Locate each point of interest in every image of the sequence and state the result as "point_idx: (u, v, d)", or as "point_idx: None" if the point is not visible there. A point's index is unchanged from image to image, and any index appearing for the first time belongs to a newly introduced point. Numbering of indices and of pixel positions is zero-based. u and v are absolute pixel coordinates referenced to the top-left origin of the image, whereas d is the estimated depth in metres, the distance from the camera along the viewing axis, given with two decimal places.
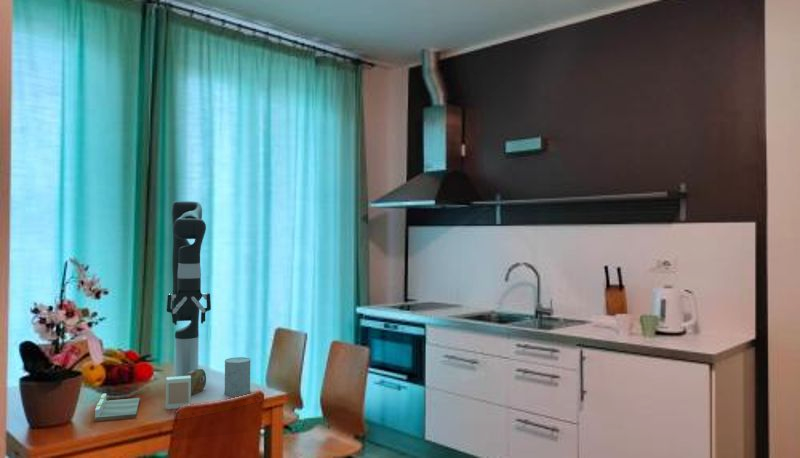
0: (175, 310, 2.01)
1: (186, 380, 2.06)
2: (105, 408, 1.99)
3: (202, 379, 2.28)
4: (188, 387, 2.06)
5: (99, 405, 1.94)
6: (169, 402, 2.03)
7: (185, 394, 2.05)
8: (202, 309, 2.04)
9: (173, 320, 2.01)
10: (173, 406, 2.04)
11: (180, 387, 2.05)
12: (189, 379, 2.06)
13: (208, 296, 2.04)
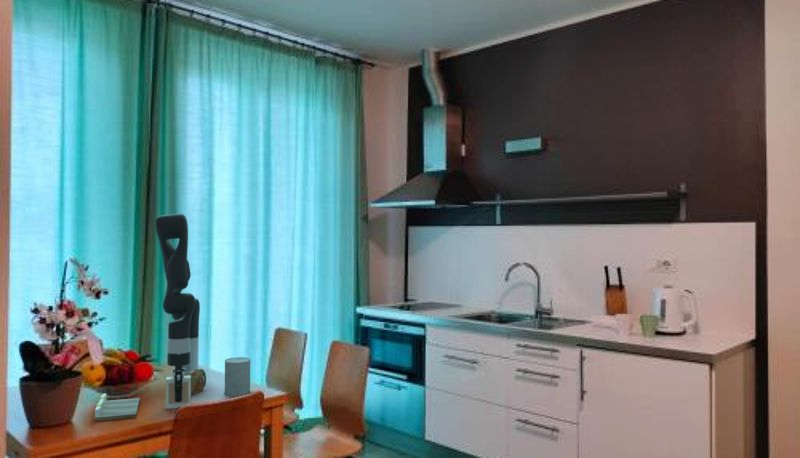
0: None
1: (186, 380, 2.06)
2: (105, 408, 1.99)
3: (202, 379, 2.28)
4: (188, 387, 2.06)
5: (99, 405, 1.94)
6: (169, 402, 2.04)
7: (185, 394, 2.05)
8: None
9: (180, 397, 2.04)
10: (173, 405, 2.04)
11: None
12: (189, 379, 2.06)
13: (182, 369, 2.13)
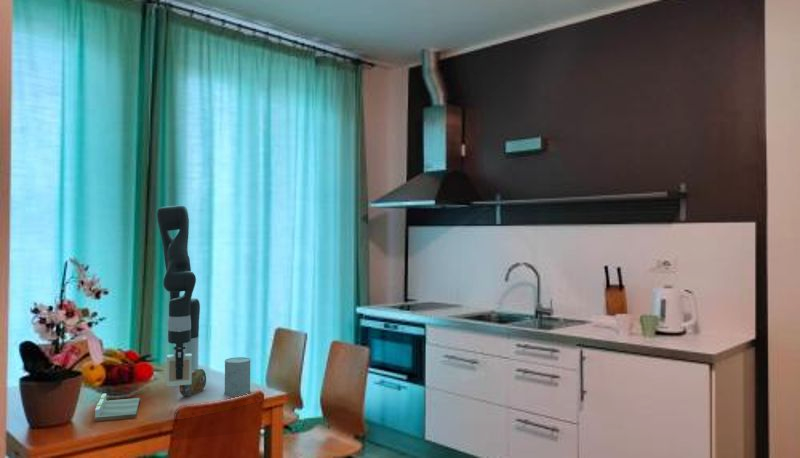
0: None
1: (187, 358, 2.06)
2: (105, 408, 1.99)
3: (202, 379, 2.28)
4: (189, 364, 2.06)
5: (99, 405, 1.94)
6: (170, 379, 2.04)
7: (186, 371, 2.06)
8: None
9: (181, 375, 2.04)
10: (174, 383, 2.05)
11: None
12: (190, 357, 2.06)
13: None
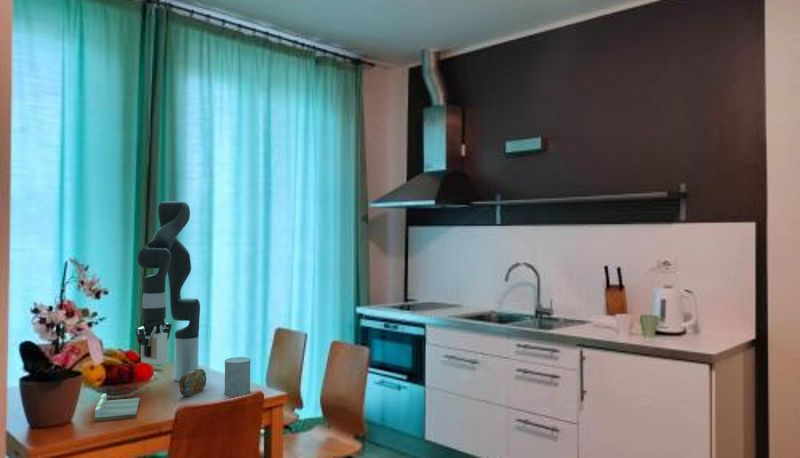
0: (150, 342, 2.01)
1: (155, 336, 2.01)
2: (105, 408, 1.99)
3: (202, 379, 2.28)
4: (155, 343, 2.01)
5: (99, 405, 1.94)
6: (142, 356, 2.03)
7: (153, 350, 2.01)
8: None
9: (147, 353, 2.01)
10: (146, 360, 2.03)
11: None
12: (157, 336, 2.01)
13: (170, 326, 2.09)
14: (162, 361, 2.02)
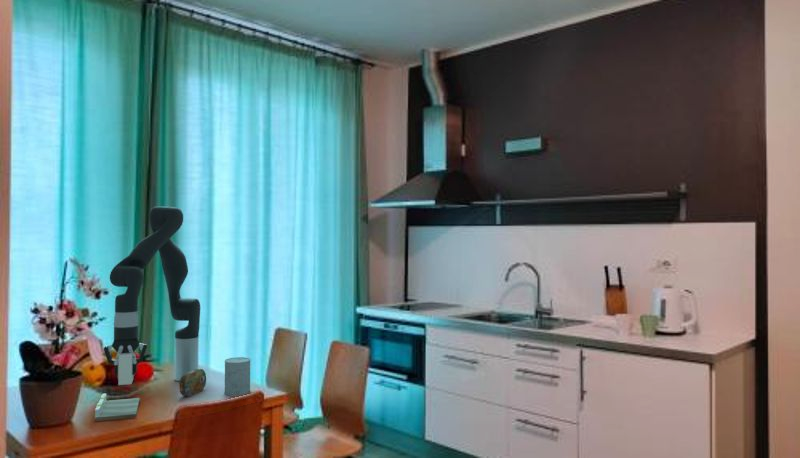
0: (116, 361, 2.00)
1: (119, 356, 1.99)
2: (105, 408, 1.99)
3: (202, 379, 2.28)
4: (118, 363, 1.98)
5: (99, 405, 1.94)
6: None
7: (118, 370, 1.99)
8: (133, 361, 2.01)
9: (115, 371, 2.00)
10: None
11: None
12: None
13: (144, 347, 2.03)
14: (124, 382, 1.98)
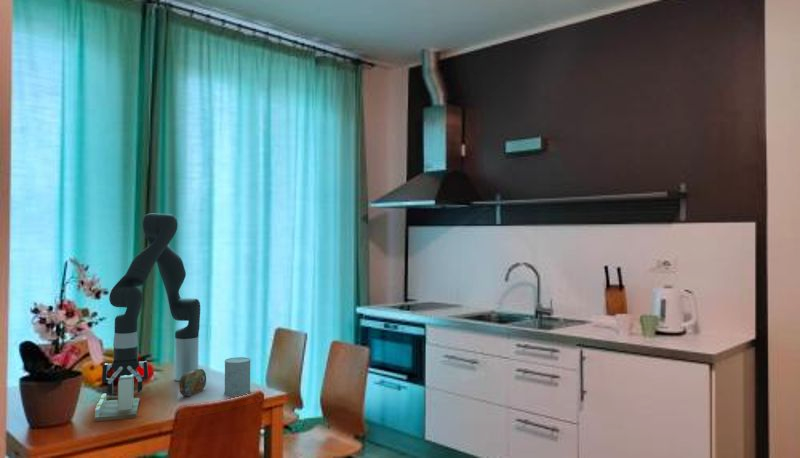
0: (111, 380, 1.99)
1: None
2: (105, 408, 1.99)
3: (202, 379, 2.28)
4: (118, 389, 1.98)
5: (99, 405, 1.94)
6: None
7: (118, 395, 1.99)
8: (139, 378, 2.02)
9: (109, 390, 1.99)
10: None
11: None
12: None
13: (145, 365, 2.03)
14: (124, 407, 1.98)
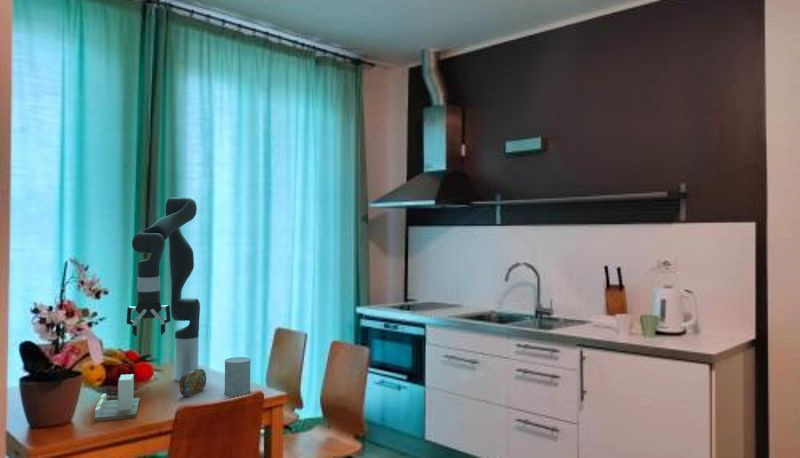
0: (135, 322, 2.07)
1: None
2: (105, 408, 1.99)
3: (202, 379, 2.28)
4: (118, 389, 1.98)
5: (99, 405, 1.94)
6: None
7: (118, 395, 1.99)
8: (162, 321, 2.10)
9: (133, 332, 2.08)
10: None
11: None
12: None
13: (167, 308, 2.11)
14: (124, 407, 1.98)
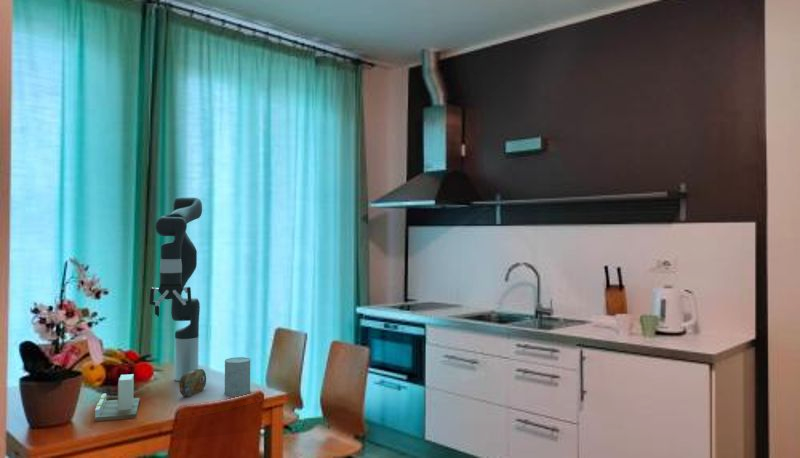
0: (157, 303, 2.14)
1: None
2: (105, 408, 1.99)
3: (202, 379, 2.28)
4: (118, 389, 1.98)
5: (99, 405, 1.94)
6: None
7: (118, 395, 1.99)
8: (183, 302, 2.17)
9: (155, 312, 2.15)
10: None
11: None
12: None
13: (189, 290, 2.18)
14: (124, 407, 1.98)
